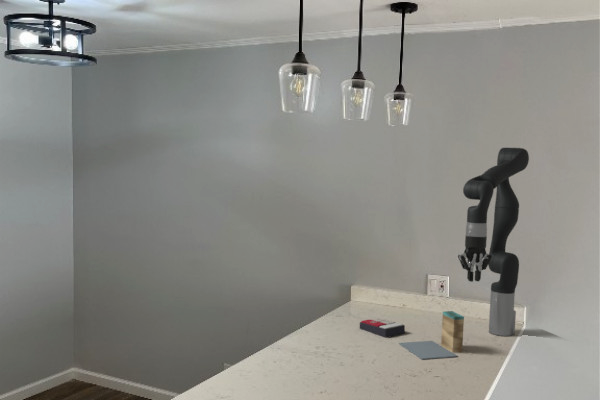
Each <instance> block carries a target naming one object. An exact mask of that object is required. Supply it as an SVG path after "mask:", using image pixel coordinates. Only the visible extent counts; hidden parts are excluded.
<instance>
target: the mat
mask: <svg viewBox="0 0 600 400" xmlns="http://www.w3.org/2000/svg"><path fill="white" fill-rule="evenodd" d="M398 344H399V346H401V347H402V348H404V349H406V350H407V351H408V352H409V353H410V352H411V354H413V355H414V356H416V357H417V358H419V359H420V360H434V359H435V360H436V359H447V358H449V359H450V358H458V355H457V354H455V352H451V351H449V350H448V349H446V348H444V347H443V346H441V345H440V344H439V343H437V342H436V341H433V340H424V341H423V340H422V341H409V342H408V341H407V342H405V341H404V342H398Z"/></svg>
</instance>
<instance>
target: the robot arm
mask: <svg viewBox="0 0 600 400" xmlns="http://www.w3.org/2000/svg"><path fill="white" fill-rule="evenodd" d="M529 161H530V155H529V152H528V150H527V149H525V148H523V147H501V148H500V149H499V151H498V153H497V160H496V165H494V166H491V167H490V168H488V169H486V171H484V172H483V173H482V174H480V175H478V176H475V177H473V178H471V179H468V180H467V181H466V182H465V184H463V188H462V190H463V191H462V192H463V195H464V197H465V198H467V199H468V200H478V201H479V203H478V204H476V205H472V206H469V207H468V208H467V210H466V211H467V212H466V213H467V214H466V225H465V236H464V237H465V238H464V239H465V240H464V246H465V249H464V252H463V253H462V254H458V255H457V257H458V260H459V263H460V265H461V267H462V269H463V270H466V272H467V273H466V274H467V277H466V278H467V281H469V282H474V281H475V282H480V281H481V280H482V279H481V278H482V271H484V270H486V269H487V268H488V269H489V271H490V272H492V273H495V274H498V275H499V276H500V277H499V280H498V281H495V282H492V283H491V285H490V300H489V301H490V302H489V319H488V332H489V333H490V334H492V335H495V336H501V337H509V336H512V335H515V333H516V315H517V311H516V310H515V297H516V295H515V294H516V287H517V285H518V280H519V271H520V261H519V257H518V256H517V255H516V254H515V253H512V252H507V251H506V247H507V240H508V237H509V236H510V234H511V233H512V231H513V230H514V229H515V227H516V225H517V223H518V221H519V213H520V203H519V199H518V197H517V196H516V195H517V194H515V191H514V190H513V188H512V186H511V183H510V179H509V178H510V177H512V176H515V175H516V174H518V173H520V172H523V171H524V170H525V169H526V168H527V167H528V165H529ZM495 189H496V192H495V193H496V195H495V201H494V202H495V205H494V213H493V227H492V235H491V242H490V248H489V251H488V252H489V253H487V249H486V248H487V237H488V235H487V234H488V227H487V225H488V224H487V223H488V210H489V207H490V205H491V201H492V199H493V196H494V190H495ZM474 267H475V268H474Z"/></svg>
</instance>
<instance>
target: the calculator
mask: <svg viewBox="0 0 600 400" xmlns="http://www.w3.org/2000/svg"><path fill="white" fill-rule="evenodd" d="M405 328H406V326H405V325H404V324H403V323H399V322H396V321H393V320H389V319H385V318H382V317H375V318H371V319H365V320H361V321H360V322H359V330H362V331H365V332H367V333H371V334H375V335H378V336H379V337H382V338H386V339H387V338H391V337H397V336H401V335H404V334H406V332H405V330H406V329H405Z"/></svg>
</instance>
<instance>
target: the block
mask: <svg viewBox="0 0 600 400" xmlns="http://www.w3.org/2000/svg"><path fill="white" fill-rule="evenodd" d="M441 321H442V323H441V343H440V344H441V345H440V346H442V347H444V348H445V349H447V350H449V351H450V352H452V353H462V352H463V343H464V323H465V316H463V315H461V314H460V313H457V312H455V311H453V310H447V311H446V310H445V311H442V320H441Z"/></svg>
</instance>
